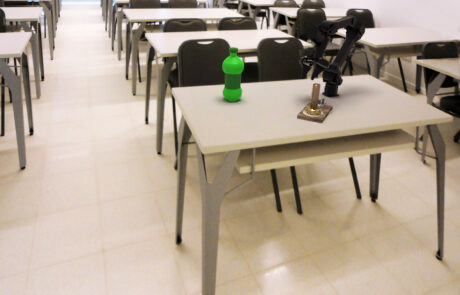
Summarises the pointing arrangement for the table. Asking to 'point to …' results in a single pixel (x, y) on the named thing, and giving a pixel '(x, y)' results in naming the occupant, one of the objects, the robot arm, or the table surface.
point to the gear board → (317, 118)
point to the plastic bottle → (232, 75)
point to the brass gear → (314, 101)
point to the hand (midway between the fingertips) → (306, 79)
